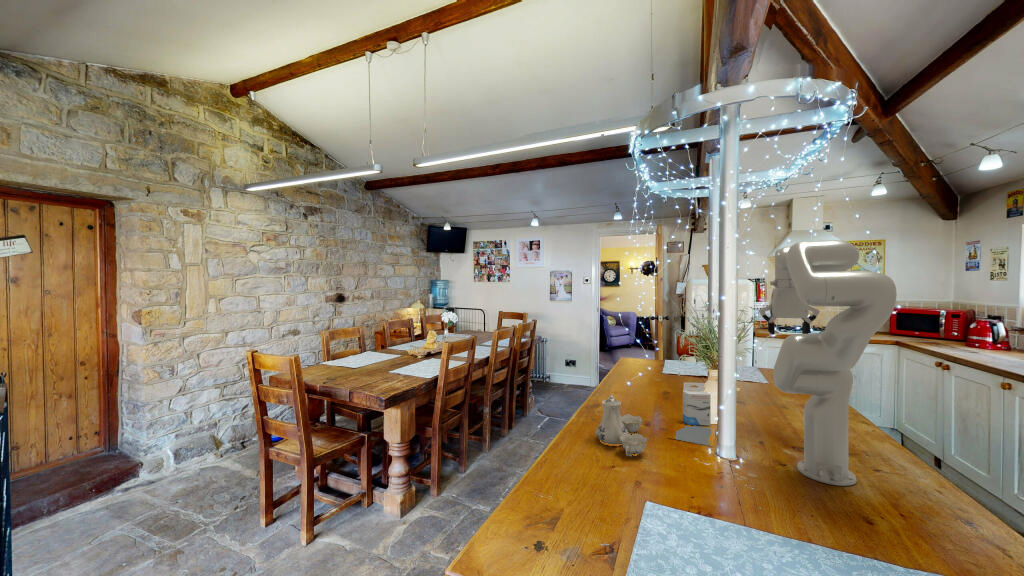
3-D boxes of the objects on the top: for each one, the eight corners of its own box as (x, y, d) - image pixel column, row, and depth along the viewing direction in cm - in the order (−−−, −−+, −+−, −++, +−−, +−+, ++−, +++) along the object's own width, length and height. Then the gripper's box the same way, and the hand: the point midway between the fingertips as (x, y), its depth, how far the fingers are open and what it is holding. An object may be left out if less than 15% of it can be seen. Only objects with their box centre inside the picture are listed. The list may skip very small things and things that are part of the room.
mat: (713, 447, 125) (713, 446, 125) (667, 438, 132) (667, 437, 132) (716, 429, 139) (716, 429, 139) (675, 423, 146) (675, 422, 146)
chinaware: (653, 468, 115) (659, 413, 114) (597, 459, 118) (602, 406, 117) (638, 432, 143) (642, 387, 142) (592, 425, 145) (596, 382, 145)
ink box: (687, 425, 143) (686, 385, 143) (682, 420, 148) (682, 382, 148) (711, 425, 142) (710, 385, 142) (705, 421, 147) (705, 382, 147)
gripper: (762, 285, 130) (762, 335, 131) (824, 284, 124) (823, 336, 125) (756, 284, 137) (756, 332, 138) (814, 283, 131) (814, 333, 132)
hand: (788, 334), depth 131 cm, fingers open, 9 cm apart
